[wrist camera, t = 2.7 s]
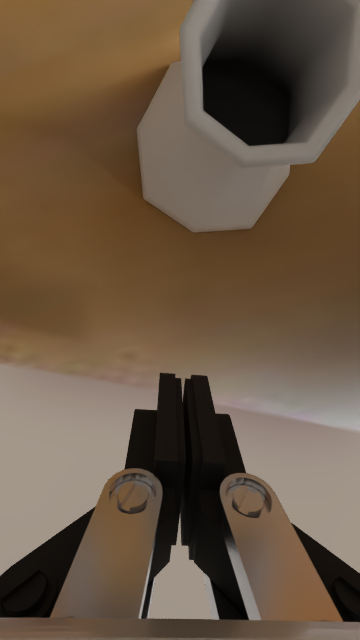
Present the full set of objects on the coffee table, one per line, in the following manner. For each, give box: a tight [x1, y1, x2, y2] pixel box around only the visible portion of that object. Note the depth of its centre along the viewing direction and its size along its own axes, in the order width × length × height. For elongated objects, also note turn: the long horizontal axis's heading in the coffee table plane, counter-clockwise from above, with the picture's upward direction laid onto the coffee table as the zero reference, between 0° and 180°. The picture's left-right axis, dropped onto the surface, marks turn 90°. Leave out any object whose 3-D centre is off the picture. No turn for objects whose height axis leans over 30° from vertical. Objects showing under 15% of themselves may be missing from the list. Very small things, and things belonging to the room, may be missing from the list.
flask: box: [136, 0, 360, 233], centre depth 10 cm, size 7×7×10 cm
